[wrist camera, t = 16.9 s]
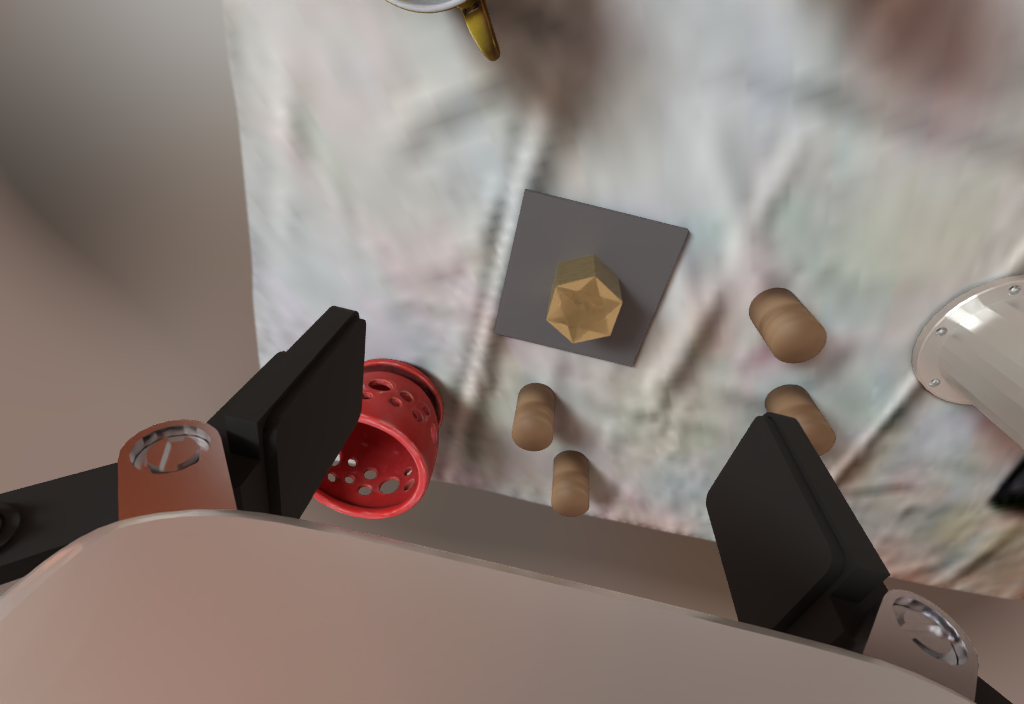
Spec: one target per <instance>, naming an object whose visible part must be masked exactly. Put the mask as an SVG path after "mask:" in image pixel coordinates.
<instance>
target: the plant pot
mask: <svg viewBox="0 0 1024 704" xmlns="http://www.w3.org/2000/svg"><path fill="white" fill-rule="evenodd" d="M442 419H443V403H442V399H441V396H440V394H439V392H438V390H437V388H436V387H435V385H434V384H433V383H432V381H431V380H430V379H429V378H428V377H427V376H426V375H425V374H423V373H422V372H421V371H419V370H418V369H417V368H415V367H413V366H411V365H409V364H407V363H404V362H401V361H398V360H393V359H372V360H367V361H365V362H364V376H363V396H362V410H361V415H360V418H359V420H358V422H357V424H356V426H355V427H354V429H353V431H352V432H351V434H350V436H349V437H348V439H347V441H346V442H345V444H344V446H343V447H342V449H341V451H340V452H339V455H340V461H339V463H338V464H337V465H336V466H331V467H330V469H329V471H328V472H327V474H326V475H325V477H324V479H323V480H322V482H321V484H320V485H319V487H318V489H317V490H316V492H315V494H314V495H313V497H314V498H315V499H316V500H318V501H319V502H321V503H322V504H324V505H326V506H328V507H330V508H332V509H334V510H336V511H338V512H341V513H344V514H347V515H351V516H354V517H359V518H369V519H382V518H389V517H393V516H397V515H399V514H402V513H404V512H406V511H408V510H409V509H411V508H412V507H414V506H415V505H416V504H417V503H418V502H419V501H420V500H421V498H422V497H423V496H424V494H425V491H426V490H427V488H428V485H429V482H430V479H431V476H432V472H433V468H434V464H435V461H436V457H437V450H438V440H439V428H440V425H441V423H442ZM349 459H353V460H354V461H355V462H356V466H355V467H352V466H349V464H348V460H349ZM412 469H413V470H412ZM369 470H373V471H375V472H376V473H377V476H376V477H375V478H374V479H372V480H369V479H366V478H365V477H364V473H365V472H366V471H369ZM410 470H412V472H411V474H410V475H408V476H407V473H408V472H409V471H410ZM329 473H331V474H333V475H334V476H335V481H334V482H331V481H330V480H329V479H328V474H329ZM345 477H351V478H352V479H353V480H354V482H353V483H351V484H349V483H346V481H345ZM389 480H397V481H399V486H398V488H397V489H396V490H395V491H394V492H393V493H390V494H383V493H382V492H381V491H380V488H381V486H382V484H383V483H385V482H386V481H389ZM413 483H414V484H413ZM412 484H413V486H412V487H411V488H410V489H409V490H408V488H409V487H410V485H412ZM362 487H369V488H370V489H371V493H370V494H369V495H361V494H359V492H358V490H359V489H360V488H362Z"/></svg>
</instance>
